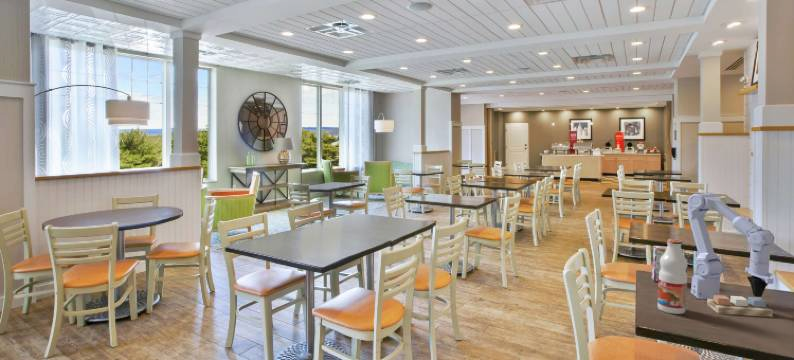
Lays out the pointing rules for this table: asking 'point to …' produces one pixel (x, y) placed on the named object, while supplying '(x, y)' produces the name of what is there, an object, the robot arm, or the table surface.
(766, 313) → the light wood flat board
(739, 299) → the off-white key
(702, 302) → the table surface
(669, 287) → the fruit juice
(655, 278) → the candy bar box
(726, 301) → the terracotta key
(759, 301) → the slate blue key
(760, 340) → the table surface
